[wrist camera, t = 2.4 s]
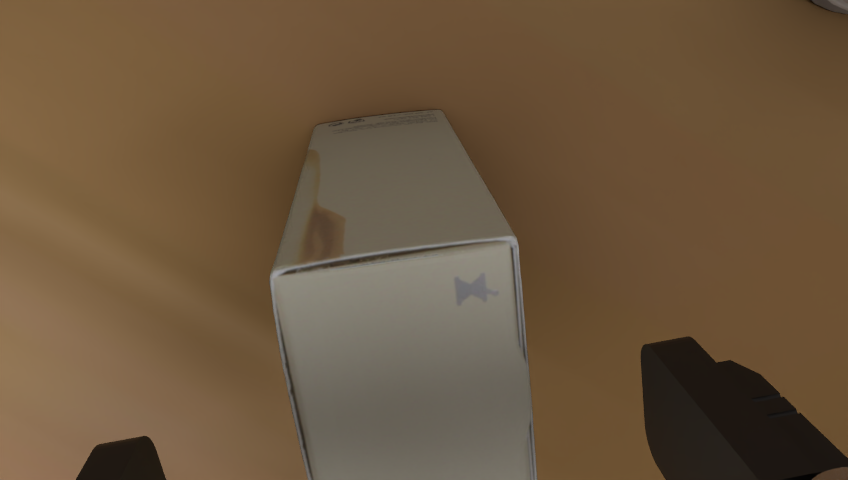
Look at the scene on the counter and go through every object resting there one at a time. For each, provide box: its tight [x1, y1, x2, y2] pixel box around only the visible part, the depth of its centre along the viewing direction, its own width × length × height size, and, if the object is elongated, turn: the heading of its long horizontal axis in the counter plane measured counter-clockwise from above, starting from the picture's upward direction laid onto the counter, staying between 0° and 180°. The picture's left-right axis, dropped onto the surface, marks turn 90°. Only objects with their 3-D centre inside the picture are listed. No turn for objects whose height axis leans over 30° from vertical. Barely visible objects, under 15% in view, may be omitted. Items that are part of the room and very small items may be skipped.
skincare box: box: [269, 110, 537, 480], centre depth 19 cm, size 6×4×12 cm
